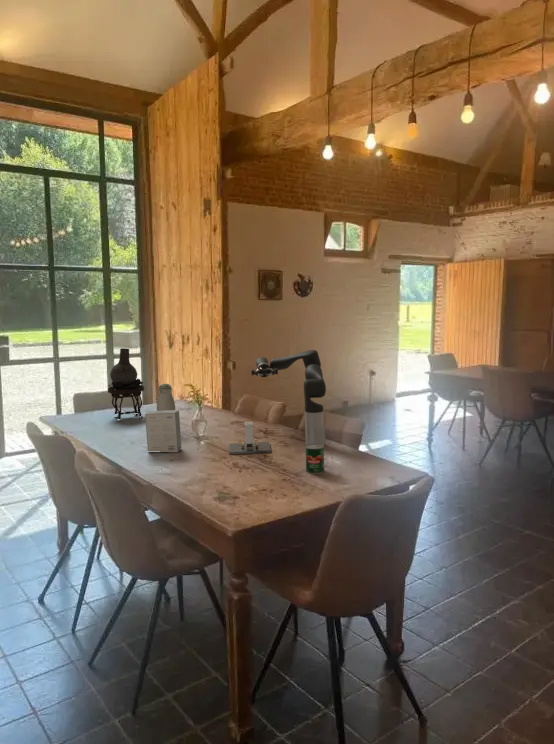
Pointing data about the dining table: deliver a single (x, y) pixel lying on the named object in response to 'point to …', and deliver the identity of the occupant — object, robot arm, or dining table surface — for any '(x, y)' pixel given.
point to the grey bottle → (165, 398)
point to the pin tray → (241, 448)
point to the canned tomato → (314, 458)
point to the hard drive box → (163, 431)
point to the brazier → (125, 383)
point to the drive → (249, 435)
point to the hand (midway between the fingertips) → (265, 373)
